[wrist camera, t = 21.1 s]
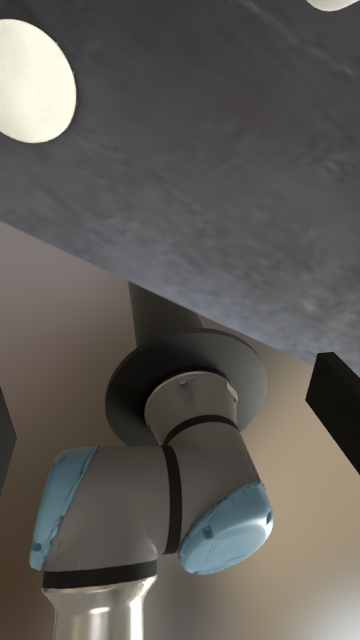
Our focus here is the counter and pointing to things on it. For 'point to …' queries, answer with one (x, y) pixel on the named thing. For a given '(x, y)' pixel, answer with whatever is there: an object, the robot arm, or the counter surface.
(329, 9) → the container
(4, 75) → the flask lid
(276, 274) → the counter surface
